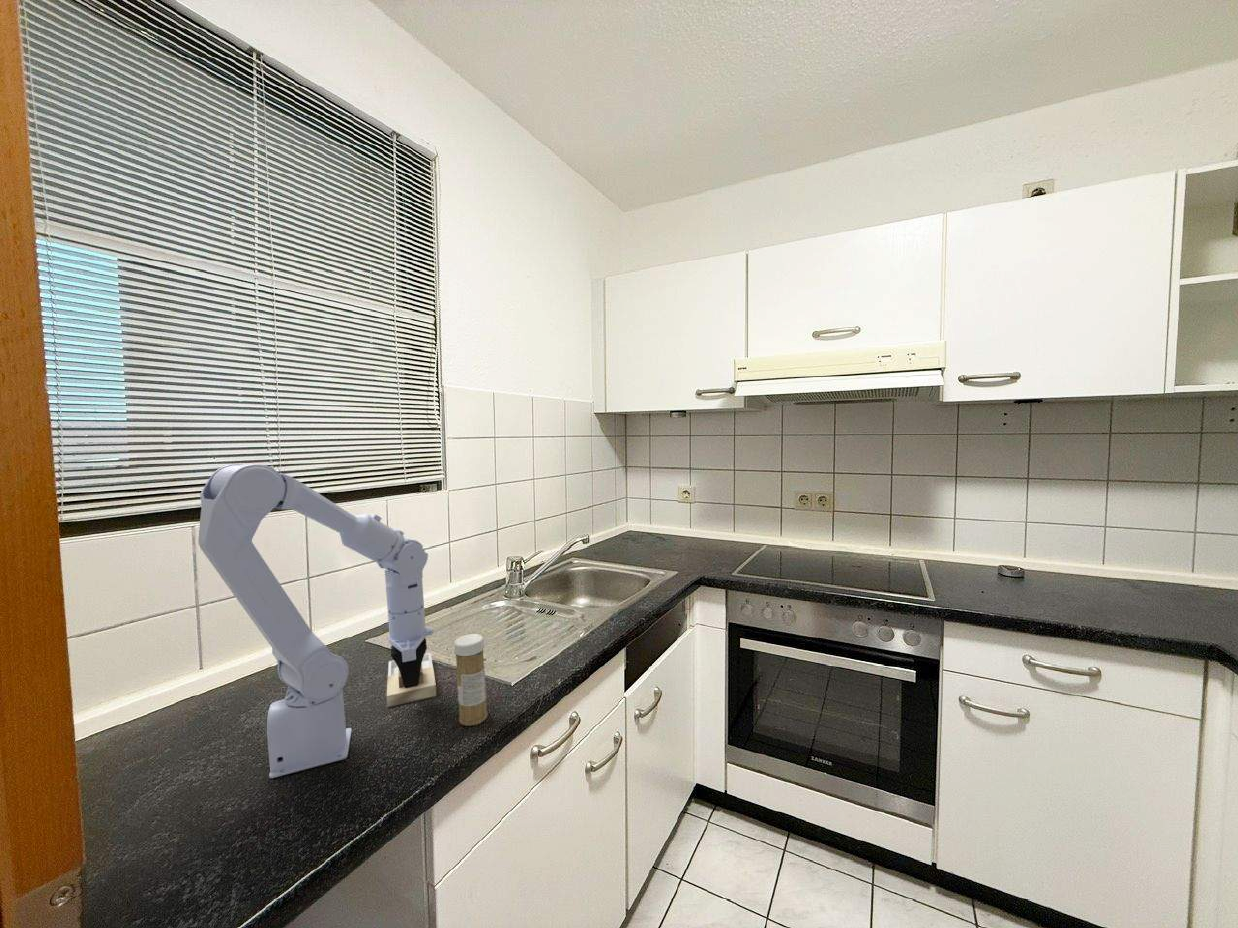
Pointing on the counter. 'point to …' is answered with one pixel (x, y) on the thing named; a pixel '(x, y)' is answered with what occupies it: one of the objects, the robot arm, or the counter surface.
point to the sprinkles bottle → (471, 679)
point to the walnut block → (402, 681)
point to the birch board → (410, 689)
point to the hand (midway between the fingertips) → (411, 685)
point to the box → (394, 668)
